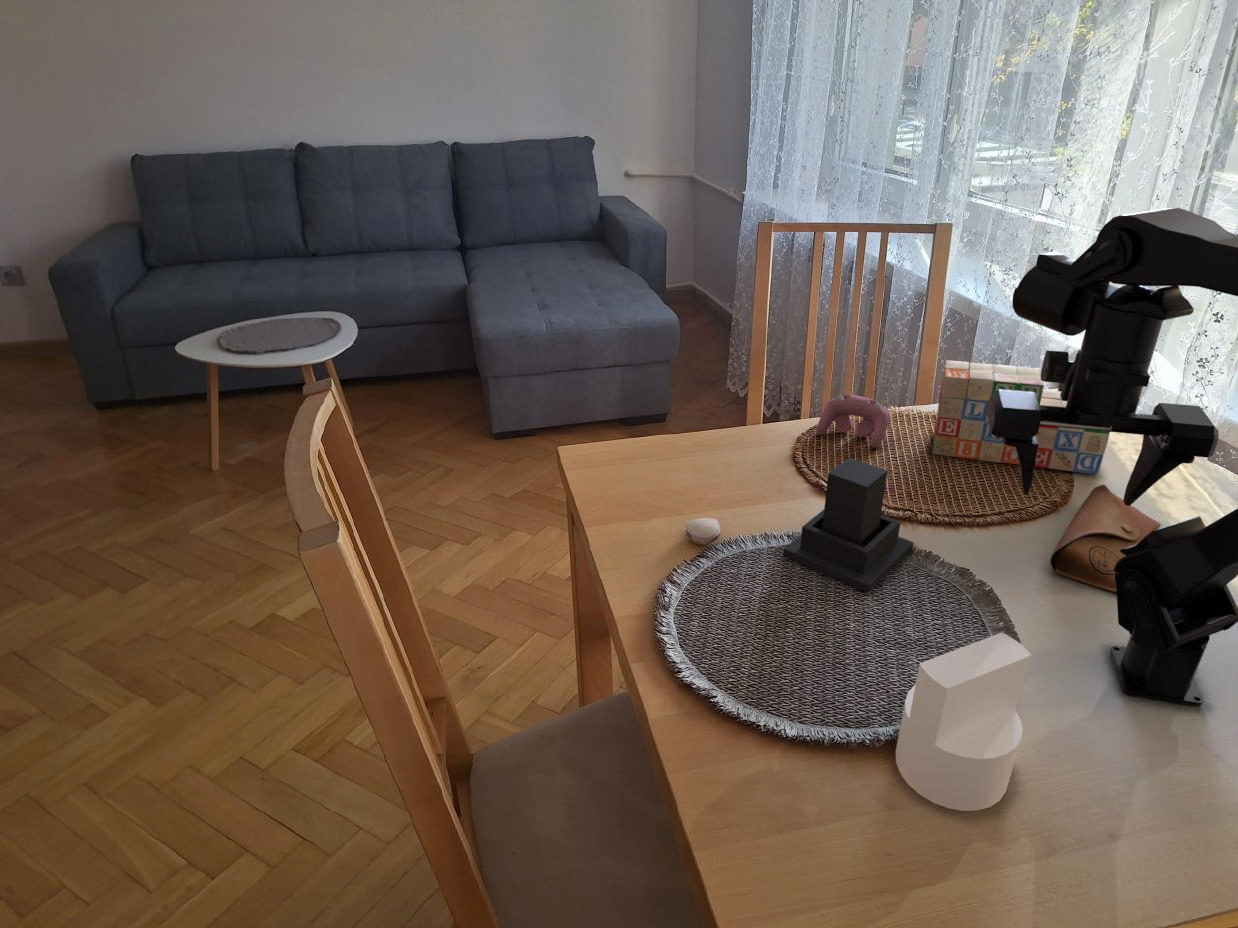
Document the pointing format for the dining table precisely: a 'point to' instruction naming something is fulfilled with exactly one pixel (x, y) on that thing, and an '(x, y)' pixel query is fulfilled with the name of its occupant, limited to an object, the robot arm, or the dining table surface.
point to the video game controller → (857, 406)
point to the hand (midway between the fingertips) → (1075, 497)
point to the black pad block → (854, 501)
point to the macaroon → (703, 530)
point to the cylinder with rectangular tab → (964, 724)
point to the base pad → (850, 553)
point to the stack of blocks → (969, 429)
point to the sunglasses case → (1099, 539)
